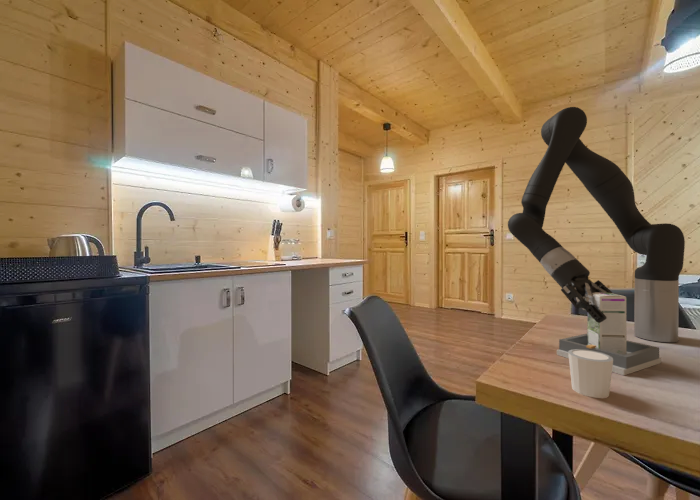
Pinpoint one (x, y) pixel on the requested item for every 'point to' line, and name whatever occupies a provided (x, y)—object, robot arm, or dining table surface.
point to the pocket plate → (625, 364)
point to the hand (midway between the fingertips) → (613, 318)
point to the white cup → (590, 372)
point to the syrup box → (608, 323)
